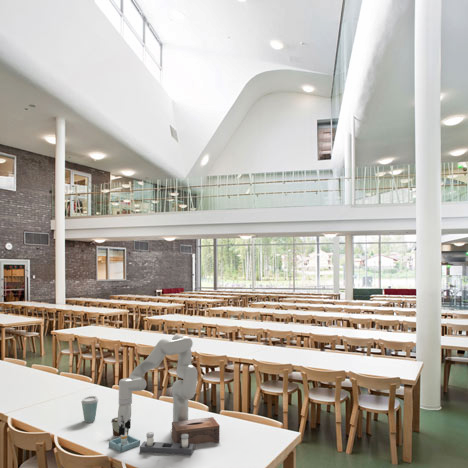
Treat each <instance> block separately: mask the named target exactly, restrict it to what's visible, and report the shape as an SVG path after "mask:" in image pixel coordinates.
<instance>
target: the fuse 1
mask: <svg viewBox="0 0 468 468" xmlns="http://www.w3.org/2000/svg"><path fill="white" fill-rule="evenodd" d="M154 435H155V434H154V432H153V431H148V432H146V442H147V446H149V447H153V442H154Z"/></svg>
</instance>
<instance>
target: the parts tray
mask: <svg viewBox="0 0 468 468" xmlns="http://www.w3.org/2000/svg"><path fill="white" fill-rule="evenodd" d="M127 441H128V444H127V445H125V446H121V437H117V438H114V439H111V440H109V441H108V448H113V449H114V450H116V451H118V452H120V453H122V452H125V451H128V450H131V449H133V448H137V447H140V446H141V440H140V439H138V438H135V437H134V436H132V435H130V434H128V435H127Z"/></svg>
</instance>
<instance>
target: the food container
mask: <svg viewBox="0 0 468 468" xmlns="http://www.w3.org/2000/svg"><path fill="white" fill-rule="evenodd" d="M122 422H124V421H122ZM111 425H112V437H116V436H117V438H119V437H121V435H119V424H118V416H117V417H114V418H112V419H111ZM122 425H123V424H122ZM124 427H125V425H124ZM129 430H130V429H127V435H129Z"/></svg>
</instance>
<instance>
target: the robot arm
mask: <svg viewBox="0 0 468 468" xmlns="http://www.w3.org/2000/svg"><path fill="white" fill-rule="evenodd" d="M193 343H194V342H193V339H191V338H190V337H189V336H187V335H182V334H175V335H173V337H172V340H169V339H165V338H162V339H160V340H159V341H157V343H156V345H155V346H154V347H153V349H152V351H151V352H150V354H149V355H148V356H147V357H146V358H145V359H144V360H142V362H140V363H139V364H138V365H137V366H136V367H135V368H134V369H133V370H132V371H131V373H130V375H129V376H128V377H125V378H121V379H120V380H119V382H118V411H117V417H118V424H119V435H124V434H125V428H124V425H125V427H126V428H127V429H129V430H130V429H131V423H132V422H131V421H132V420H131V418H132V403H133V392H142V391H144V390H145V389H146V387H147V380H146V379H145V378H143V377H144V376H145V374H146V373H147V372H149V371H150V370H153V369H156V368H157V367H159V366H160V365H161V364H162V362H163V360H164V359H165V357H166V356H174V355H178V356H177V365H176V370H175V371H176V373H175V374H176V376H177V377H178V378H180V379H177V380H175V381H174V382H173V384H172V386H171V393H172V402H173V403H172V422H176V421H184V420H189V400H192V399H193V398H194V396H195V393H196V390H197V384H198V383H197V382H198V370H197V368H196V367H195V366H194V365H192V359H193V358H192V357H193V355H192V347H193V345H194V344H193ZM182 379H183V380H182ZM122 421H124V422H122ZM122 424H123V425H122ZM170 433H171V434H172V428H170Z"/></svg>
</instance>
